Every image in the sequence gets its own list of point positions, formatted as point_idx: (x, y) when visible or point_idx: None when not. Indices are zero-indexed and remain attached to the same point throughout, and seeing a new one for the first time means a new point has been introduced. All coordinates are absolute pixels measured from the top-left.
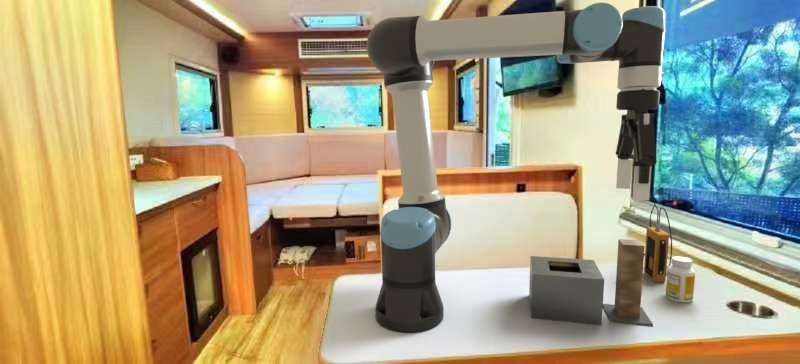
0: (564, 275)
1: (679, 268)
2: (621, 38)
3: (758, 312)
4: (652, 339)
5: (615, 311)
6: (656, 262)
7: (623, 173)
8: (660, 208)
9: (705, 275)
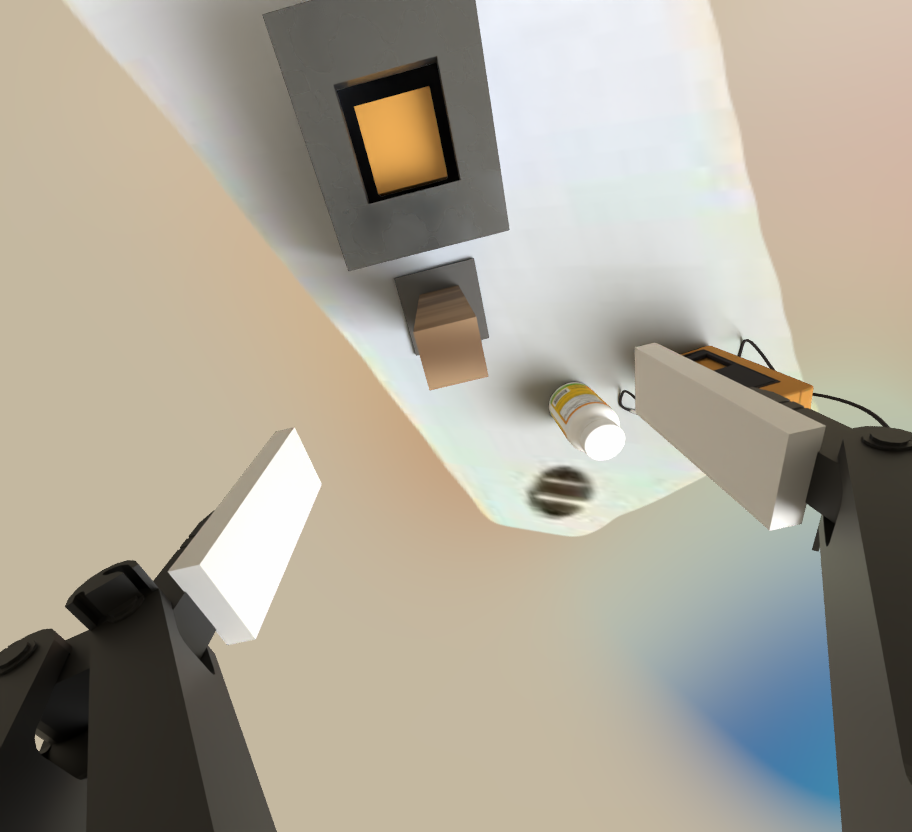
0: (314, 147)
1: (581, 429)
2: None
3: (549, 500)
4: (360, 352)
5: (442, 287)
6: None
7: (691, 415)
8: None
9: None
